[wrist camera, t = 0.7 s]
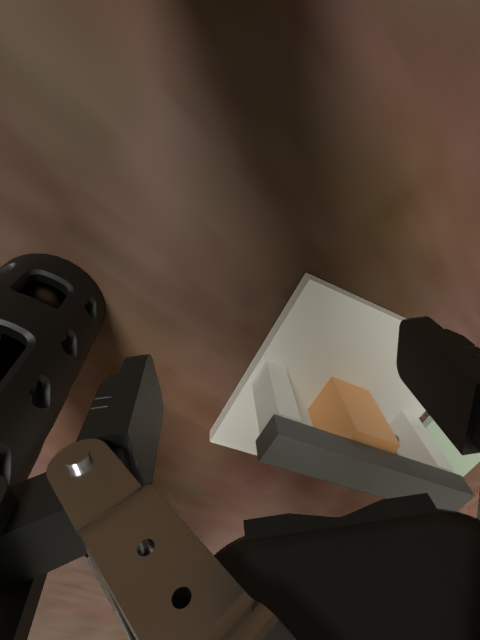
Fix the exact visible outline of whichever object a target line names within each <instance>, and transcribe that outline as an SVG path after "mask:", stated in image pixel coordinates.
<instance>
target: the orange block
mask: <svg viewBox="0 0 480 640" xmlns="http://www.w3.org/2000/svg"><path fill="white" fill-rule="evenodd" d="M308 413H309V416H310V419H311V422H312V424H313V427H315V428H318V429H321V430H324V431H327V432H330V433H333V434H336V435H339V436H342V437H345V438H348V439H351V440H354V441H357V442H360V443H364V444H367V445H370V446H373V447H376V448H379V449H382V450H385V451H388V452H391V453H395V452H396V450H397V449H398V448H399V447H400V446H401V445H400V443H399V437H398V436H397V435H395V434H394V433H393V431H392V429H391V427H390V426H389V424H388V422H387V421H386V419H385V417H384V415H383V414H382V412H381V410H380V408H379V407H378V405H377V403H376V401H375V400H374V398H373V396H372V394H371V393H370V391H369V390H366V389H363V388H361V387H358V386H356V385H353V384H350V383H348V382H345V381H342V380H340V379H337V378H334V377H331V378H330V380H329V381H328V382H327V384H326V385H325V386H324V388H323V389H322V390H321V392H320V393H319V395H318V396H317V397H316V399H315V400H314V401H313V403H312V404H311V405H310V407H309V408H308Z"/></svg>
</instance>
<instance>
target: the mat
mask: <svg viewBox="0 0 480 640" xmlns="http://www.w3.org/2000/svg"><path fill="white" fill-rule="evenodd" d="M422 424H423V425H424V427H425V428H426V430H427V431H428V433H429V434H430V436H431V437H432V439H433V440H434V441H435V443H436V444H437V446H438V447H439V449H440V450H441V452H442V453H443V455H444V456H445V458H446V459H447V460H448V462H449V463H450V465H451V466H452V468H453V469H454V471H455V472H454V473H455V474H458V475H461V476H462V477H463V476H464V475H465V474H467V473H468V472H469V471H470V470H471V469H472V468H473V467H474V466H475V465H476V464H477V463H479V462H480V453H475V454H469V455H461V454H460V452H459V451H458V450H457V449H456V447H455V446H454V445H453V444H452V442H451V441H450V440H449V439H448V437H447V436H446V435H445V434H444V432H443V431H442V430H441V429H440V427H439V426H438V425H437V424H436V422H435V421H434V420H433V419H432V417H431V416H430V415H429V416H428V417H427V418H426V419H425V420H424V422H423V423H422ZM394 454H397V455H398V453H397V451H396V452H395V453H394Z"/></svg>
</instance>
